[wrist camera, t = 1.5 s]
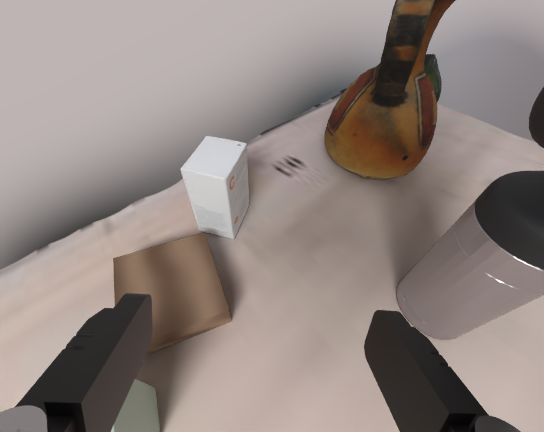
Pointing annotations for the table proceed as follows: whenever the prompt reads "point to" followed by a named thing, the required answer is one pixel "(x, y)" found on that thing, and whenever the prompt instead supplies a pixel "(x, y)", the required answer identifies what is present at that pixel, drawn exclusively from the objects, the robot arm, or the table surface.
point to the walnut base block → (175, 288)
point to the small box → (218, 185)
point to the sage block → (138, 410)
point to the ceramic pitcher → (390, 100)
